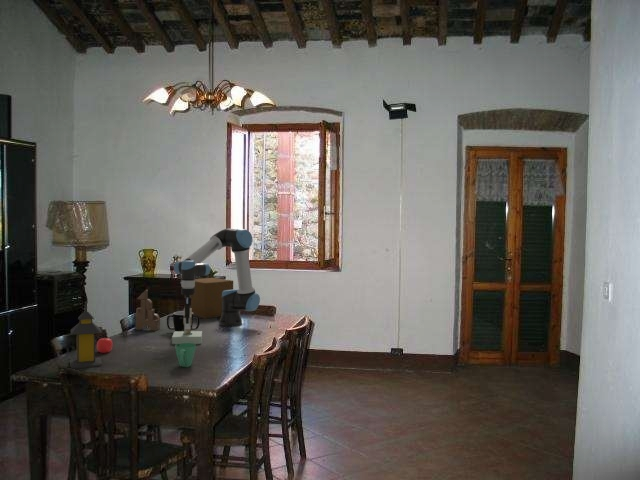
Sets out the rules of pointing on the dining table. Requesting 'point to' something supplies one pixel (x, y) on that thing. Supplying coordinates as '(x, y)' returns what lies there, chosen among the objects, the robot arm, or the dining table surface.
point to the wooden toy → (141, 314)
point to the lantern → (85, 342)
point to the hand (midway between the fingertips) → (187, 328)
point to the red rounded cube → (104, 345)
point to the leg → (190, 322)
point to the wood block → (209, 297)
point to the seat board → (187, 337)
